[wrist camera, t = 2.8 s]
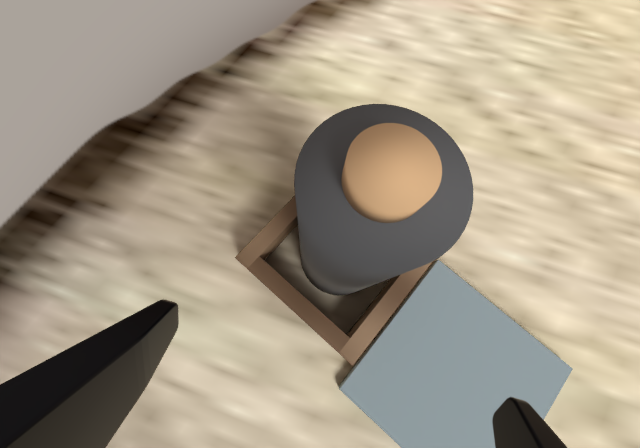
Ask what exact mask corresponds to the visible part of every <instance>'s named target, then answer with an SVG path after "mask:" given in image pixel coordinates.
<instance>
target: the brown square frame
mask: <svg viewBox="0 0 640 448" xmlns="http://www.w3.org/2000/svg"><path fill="white" fill-rule="evenodd" d="M297 225H298V219H297V209H296V198H295V196H294V197H293V198H292V199H291V200H290V201H289V202H288V203H287V204H286V205H285V206H284V207H283V208H282V209H281V210H280V211H279V212H278V213H277V214H276V215H275V217H274V218H273V219H272V220H271V221H270V222H269V223H268V224H267V225H266V226H265V227H264V228H263V229H262V230H261V231H260V232H259V233H258V234H257V235H256V236H255V237H254V238H253V239H252V240H251V241H250V242H249V243H248V245H247V246H246V247H245V248H244V249H243V250H242V251H241V252H240V253H239V254H238V255H237V256H236V257H235V258H236V259H237V260H238V261H239V262H240V263H241V264H242V265H244V266H245V267H246V268H247V269H248V270H249V271H250V272H251V273H252V274H253V275H254V276H256V277H257V278H258V279H259V280H260V281H261V282H262V283H263V284H264V285H265V286H266V287H268V288H269V289H270V290H271V291H272V292H273V293H274V294H275V295H276V296H277V297H278V298H279V299H281V300H282V301H283V302H284V303H285V304H286V305H287V306H288V307H289V308H290V309H291V310H293V311H294V312H295V313H296V314H297V315H298V316H299V317H300V318H301V319H302V320H303V321H305V322H306V323H307V324H308V325H309V326H310V327H311V328H312V329H313V330H314V331H315V332H317V333H318V334H319V335H320V336H321V337H322V338H323V339H324V340H325V341H326V342H327V343H328V344H330V345H331V346H332V347H333V348H334V349H335V350H336V351H337V352H338V353H339V354H340V355H342V356H343V357H344V358H345V359H346V360H347V361H348V362H349V363H350V364H351V365H352V366H353V365H354V364H355V362H356V361H357V360H358V358H359V357H360V356H361V354H362V353H363V352H364V351H365V349H366V348H367V347H368V345H369V344H370V343H371V341H372V340H373V339H374V338H375V336H376V335H377V334H378V332H379V331H380V330H381V328H382V327H383V326H384V324H385V323H386V322H387V321H388V319H389V318H390V317H391V315H392V314H393V313H394V311H395V310H396V309H397V308H398V306H399V305H400V304H401V302H402V301H403V300H404V298H405V297H406V296H407V295H408V293H409V292H410V291H411V289H412V288H413V287H414V285H415V284H416V283H417V281H418V280H419V279H420V278H421V276H422V275H423V274H424V272H425V271H426V270H427V268H428V267H429V266H430V265H431V263H432V262H433V261H432V262H430V263H428V264H426V265H423V266H421V267H419V268H416V269H413V270H411V271H408V272H406V273H403V274H401V275H398V276H395V277H393V278H391V280H390V281H389V282H388V283H387V285H386V286H385V287H384V288H383V290H382V291H381V292H380V293H379V295H378V296H377V297H376V298H375V300H374V301H373V302H372V304H371V305H370V306H369V307H368V309H367V310H366V311H365V312H364V314H363V315H362V316H361V317H360V319H359V320H358V321H357V322H356V324H355V325H354V326H353V327H352V329H351V330H350V331H349V332H348V334H347V335H346V334H345V333H344V332H343V331H342V330H340V329H339V328H338V327H337V326H336V325H335V324H334V323H333V322H332V321H331V320H329V319H328V318H327V317H326V316H325V315H324V314H323V313H322V312H321V311H319V310H318V309H317V308H316V307H315V306H314V305H313V304H312V303H311V302H309V301H308V300H307V299H306V298H305V297H304V296H303V295H302V294H301V293H300V292H298V291H297V290H296V289H295V288H294V287H293V286H292V285H291V284H290V283H288V282H287V281H286V280H285V279H284V278H283V277H282V276H281V275H280V274H278V273H277V272H276V271H275V270H274V269H273V268H272V267H271V266H270V265H269V264H267V263H266V262H265V261H264V260H265V259H266V258H267V257H268V256H269V255H270V254H271V253H272V252H273V251H274V250H275V249H276V247H277V246H278V245H279V244H280V243H281V242H282V241H283V240H284V239H285V238H286V237H287V236H288V235H289V234H290V232H291V231H292V230H293V229H294V228H295V227H296V226H297Z"/></svg>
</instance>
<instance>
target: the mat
mask: <svg viewBox="0 0 640 448" xmlns="http://www.w3.org/2000/svg"><path fill="white" fill-rule="evenodd" d="M571 371H572V368H571V367H570V366H569V365H567V364H566V363H565V362H564V361H562V360H561V359H560V358H559V357H557V356H556V355H555V354H554V353H553V352H551V351H550V350H549V349H548V348H546V347H545V346H544V345H543V344H541V343H540V342H539V341H538V340H537V339H535V338H534V337H533V336H532V335H530V334H529V333H528V332H527V331H525V330H524V329H523V328H522V327H521V326H519V325H518V324H517V323H516V322H514V321H513V320H512V319H511V318H510V317H508V316H507V315H506V314H505V313H503V312H502V311H501V310H500V309H498V308H497V307H496V306H495V305H494V304H492V303H491V302H490V301H489V300H487V299H486V298H485V297H484V296H482V295H481V294H480V293H479V292H478V291H476V290H475V289H474V288H473V287H471V286H470V285H469V284H468V283H466V282H465V281H464V280H463V279H462V278H460V277H459V276H458V275H457V274H455V273H454V272H453V271H452V270H450V269H449V268H448V267H447V266H446V265H444V264H443V263H442V262H441V261H439V260H436V261H435V262H434V263H433V264H432V265H431V267H430V268H429V269H428V271H427V272H426V273H425V275H424V276H423V277H422V278H421V280H420V281H419V282H418V284H417V285H416V286H415V288H414V289H413V290H412V292H411V293H410V294H409V295H408V297H407V298H406V299H405V301H404V302H403V303H402V305H401V306H400V307H399V309H398V310H397V311H396V312H395V314H394V315H393V316H392V318H391V319H390V320H389V322H388V323H387V324H386V325H385V327H384V328H383V329H382V331H381V332H380V333H379V335H378V336H377V337H376V339H375V340H374V341H373V342H372V344H371V345H370V346H369V348H368V349H367V350H366V352H365V353H364V354H363V356H362V357H361V358H360V359H359V361H358V362H357V363H356V365H355V366H354V367H353V369H352V370H351V371H350V373H349V374H348V375H347V376H346V378H345V379H344V380H343V382H342V383H341V384H340V386H339V389H340V390H341V391H342V392H343V393H344V394H345V395H346V396H347V397H348V398H349V399H350V400H351V401H353V402H354V403H355V404H356V405H357V406H358V407H359V408H360V409H361V410H362V411H363V412H364V413H365V414H366V415H367V416H368V417H370V418H371V419H372V420H373V421H374V422H375V423H376V424H377V425H378V426H379V427H380V428H381V429H382V430H383V431H384V432H385V433H387V434H388V435H389V436H390V437H391V438H392V439H393V440H394V441H395V442H396V443H397V444H398V445H399V446H400V447H401V448H495V440H494V432H493V424H492V419H493V415H494V413H495V411H496V410H497V409H498V408H499V407H500V406H501V405H502V403H503V402H504V401H505V400H506V399H507V398H509V397H514V398H517V399H521V400H524V401H526V402H528V403H529V404H530V405H531V406H532V407H533V408H534V410H535V411H536V412H537V413H538V414H539V415H540V417H541V418H542V419H543V420H544V418H545V416H546V415H547V413H548V411H549V409H550V408H551V406H552V404H553V402H554V401H555V399H556V397H557V395H558V394H559V392H560V390H561V388H562V387H563V385H564V383H565V381H566V380H567V378H568V376H569V374H570V373H571Z"/></svg>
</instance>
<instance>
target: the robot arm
mask: <svg viewBox="0 0 640 448" xmlns="http://www.w3.org/2000/svg"><path fill="white" fill-rule="evenodd" d="M177 328H178V305H177V303H175V302H172V301H168V300H160V301H157V302H156V303H154V304H152V305H150V306H148V307H146V308H144V309H142V310H141V311H139V312H137V313H135V314H133V315H131V316H129V317H127V318H125V319H124V320H122V321H120V322H118V323H116V324H114V325H112V326H110V327H108V328H107V329H105V330H103V331H101V332H99V333H97V334H95V335H93V336H91V337H90V338H88V339H86V340H84V341H82V342H80V343H78V344H76V345H74V346H73V347H71V348H69V349H67V350H65V351H63V352H61V353H59V354H57V355H56V356H54V357H52V358H50V359H48V360H46V361H44V362H42V363H40V364H39V365H37V366H35V367H33V368H31V369H29V370H27V371H25V372H23V373H22V374H20V375H18V376H16V377H14V378H12V379H10V380H8V381H6V382H5V383H3V384H1V385H0V448H106V446H107V445H108V443H109V442H110V440H111V439H112V437H113V436H114V434H115V433H116V431H117V430H118V428H119V427H120V425H121V424H122V422H123V421H124V419H125V418H126V416H127V415H128V414H129V412H130V411H131V409H132V408H133V406H134V405H135V403H136V402H137V400H138V399H139V397H140V396H141V394H142V393H143V391H144V390H145V388H146V386H147V385H148V383H149V381H150V379H151V378H152V376H153V374H154V372H155V370H156V368H157V366H158V365H159V363H160V361H161V359H162V357H163V355H164V353H165V352H166V350H167V348H168V346H169V344H170V342H171V340H172V339H173V337H174V335H175V333H176V331H177ZM492 424H493V432H494V440H495V448H567V447H566V445H565V444H564V443H563V442H562V441H561V440H560V439H559V437H558V436H557V435H556V434H555V433H554V432H553V430H552V429H551V428H550V427H549V426H548V425H547V424H546V422H545V421H544V420H543V419H542V418H541V417H540V415H539V414H538V413H537V412H536V411H535V410H534V408H533V407H532V406H531V405H530V404H529V403H528V402H526V401H524V400H521V399H517V398H514V397H509V398H507V399H506V400H505V401H504V402H503V403H502V405H501V406H500V407H499V408H498V409H497V410H496V411H495V413H494V415H493V419H492Z"/></svg>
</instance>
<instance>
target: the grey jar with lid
mask: <svg viewBox="0 0 640 448" xmlns="http://www.w3.org/2000/svg"><path fill="white" fill-rule="evenodd" d="M294 187H295V198H296V209H297V219H298V230H299V240H300V251H301V261H302V266H303V270H304V272H305V274H306V276H307V278H308V279H309V281H310V282H311V283H312V284H313V285H314V286H315V287H317V288H318V289H320V290H321V291H323V292H326V293H328V294H332V295H348V294H351V293H354V292H357V291H359V290H362V289H364V288H367V287H370V286H372V285H375V284H377V283H380V282H383V281H385V280H388V279H390V278H393V277H395V276H398V275H401V274H403V273H406V272H408V271H411V270H413V269H416V268H419V267H421V266H423V265H426V264H428V263H430V262H432V261H434V260H436V259H437V258H439V257H440V256H442V255H443V254H444V253H446V252H447V251H448V250H449V249H450V248H451V247H452V246H453V245H454V244H455V243H456V242H457V240H458V239H459V237H460V236H461V234H462V233H463V231H464V230H465V227H466V225H467V223H468V221H469V217H470V214H471V210H472V204H473V184H472V177H471V174H470V170H469V167H468V164H467V162H466V160H465V157H464V155H463V154H462V152H461V150H460V149H459V147H458V146H457V144H456V143H455V142H454V140H453V139H452V138H451V137H450V136H449V135H448V134H447V133H446V132H445V131H444V130H443V129H442V128H441V127H440V126H438V125H437V124H436V123H435V122H433V121H431V120H430V119H428V118H427V117H425V116H423V115H421V114H419V113H417V112H415V111H412V110H409V109H407V108H403V107H399V106H394V105H387V104H369V105H361V106H356V107H352V108H349V109H346V110H343V111H341V112H339V113H337V114H335V115H333V116H332V117H330V118H329V119H327V120H325V121H324V122H323V123H322V124H321V125H319V126H318V127H317V128H316V129H315V130H314V132H313V133H312V134H311V135H310V136H309V138H308V139H307V141H306V142H305V144H304V146H303V148H302V150H301V152H300V154H299V157H298V160H297V164H296V169H295V179H294Z"/></svg>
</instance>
